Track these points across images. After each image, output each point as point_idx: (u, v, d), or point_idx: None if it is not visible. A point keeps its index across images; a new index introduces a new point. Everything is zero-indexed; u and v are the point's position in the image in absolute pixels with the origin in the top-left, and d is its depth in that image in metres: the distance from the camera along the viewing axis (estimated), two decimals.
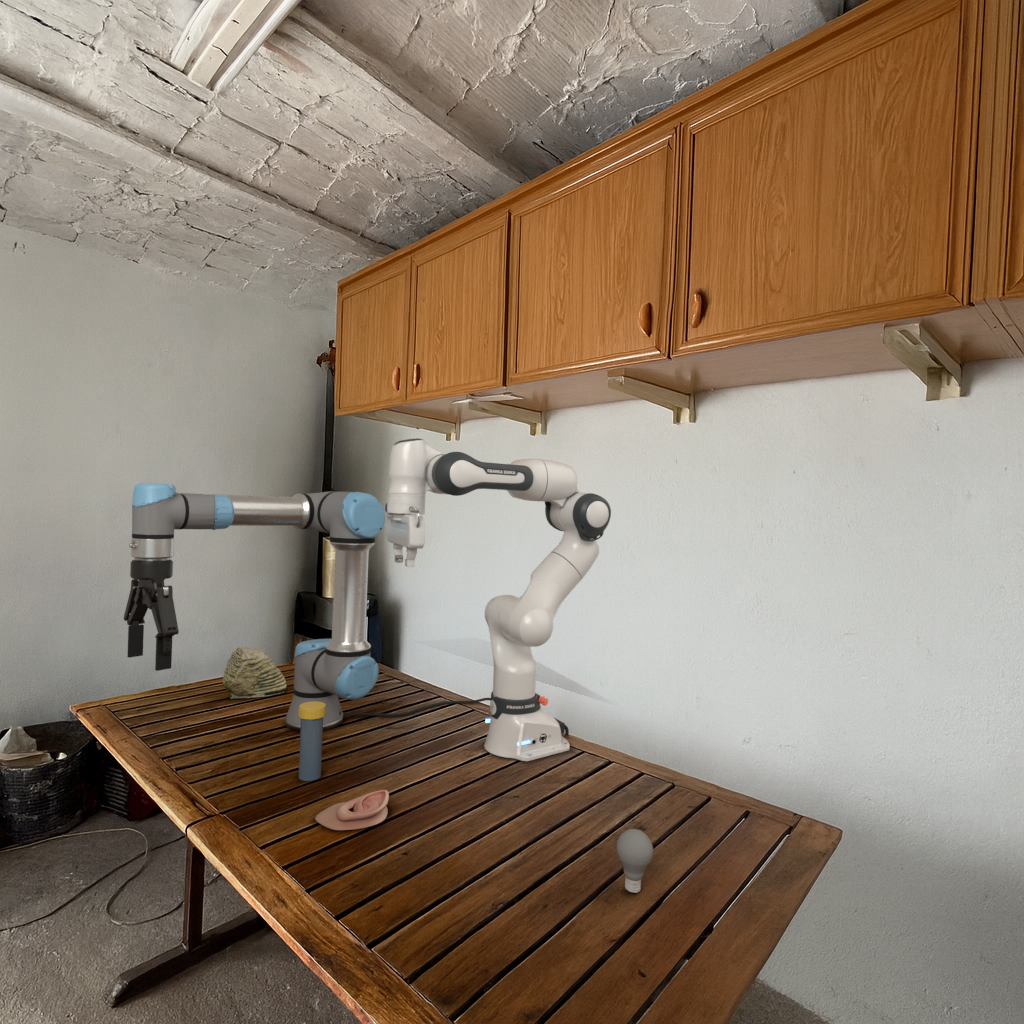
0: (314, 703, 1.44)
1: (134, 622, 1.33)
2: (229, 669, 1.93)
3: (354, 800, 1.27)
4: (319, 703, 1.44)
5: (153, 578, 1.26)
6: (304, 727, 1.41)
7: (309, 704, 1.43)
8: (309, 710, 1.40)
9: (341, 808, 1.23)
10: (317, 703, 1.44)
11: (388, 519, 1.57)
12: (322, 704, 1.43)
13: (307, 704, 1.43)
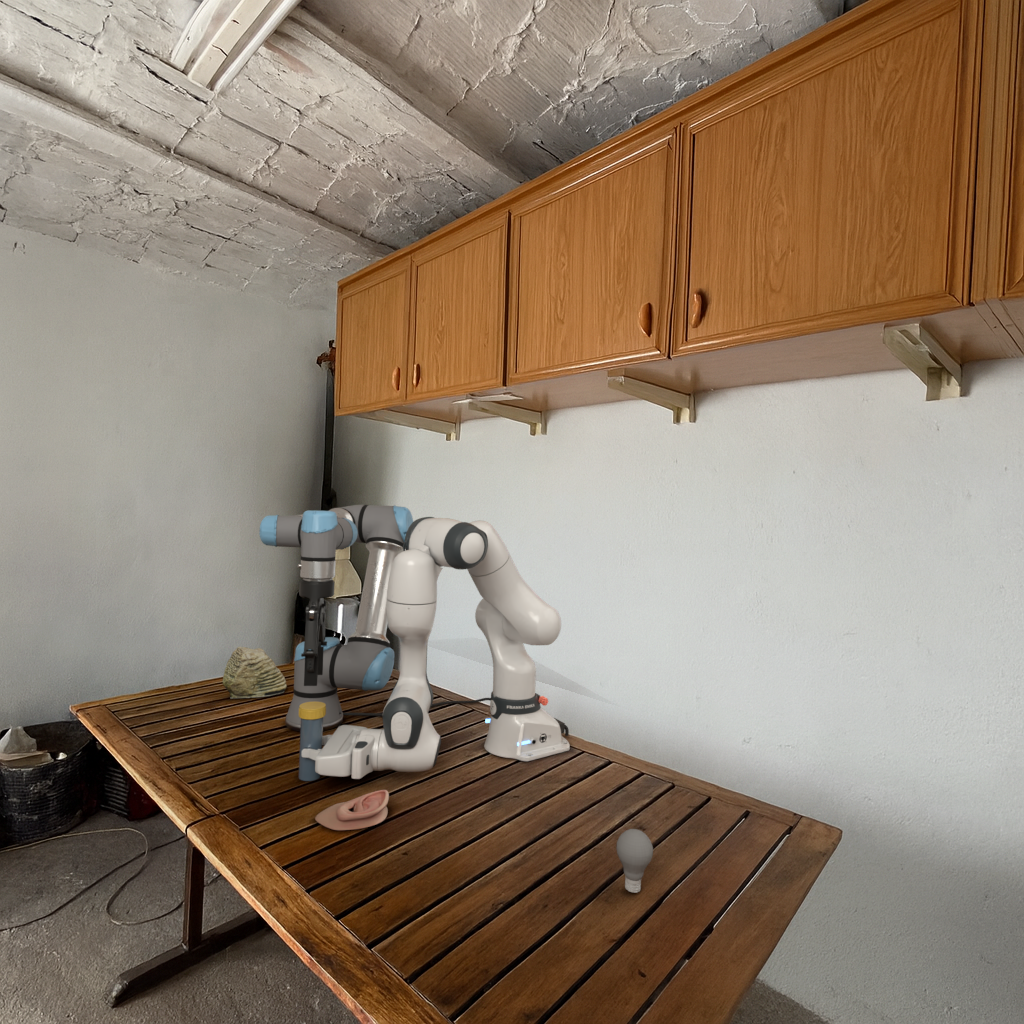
0: (314, 703, 1.44)
1: None
2: (229, 669, 1.93)
3: (354, 800, 1.27)
4: (319, 703, 1.44)
5: (309, 597, 1.39)
6: (304, 727, 1.41)
7: (309, 704, 1.43)
8: (309, 710, 1.40)
9: (341, 808, 1.23)
10: (317, 703, 1.44)
11: None
12: (322, 704, 1.43)
13: (307, 704, 1.43)
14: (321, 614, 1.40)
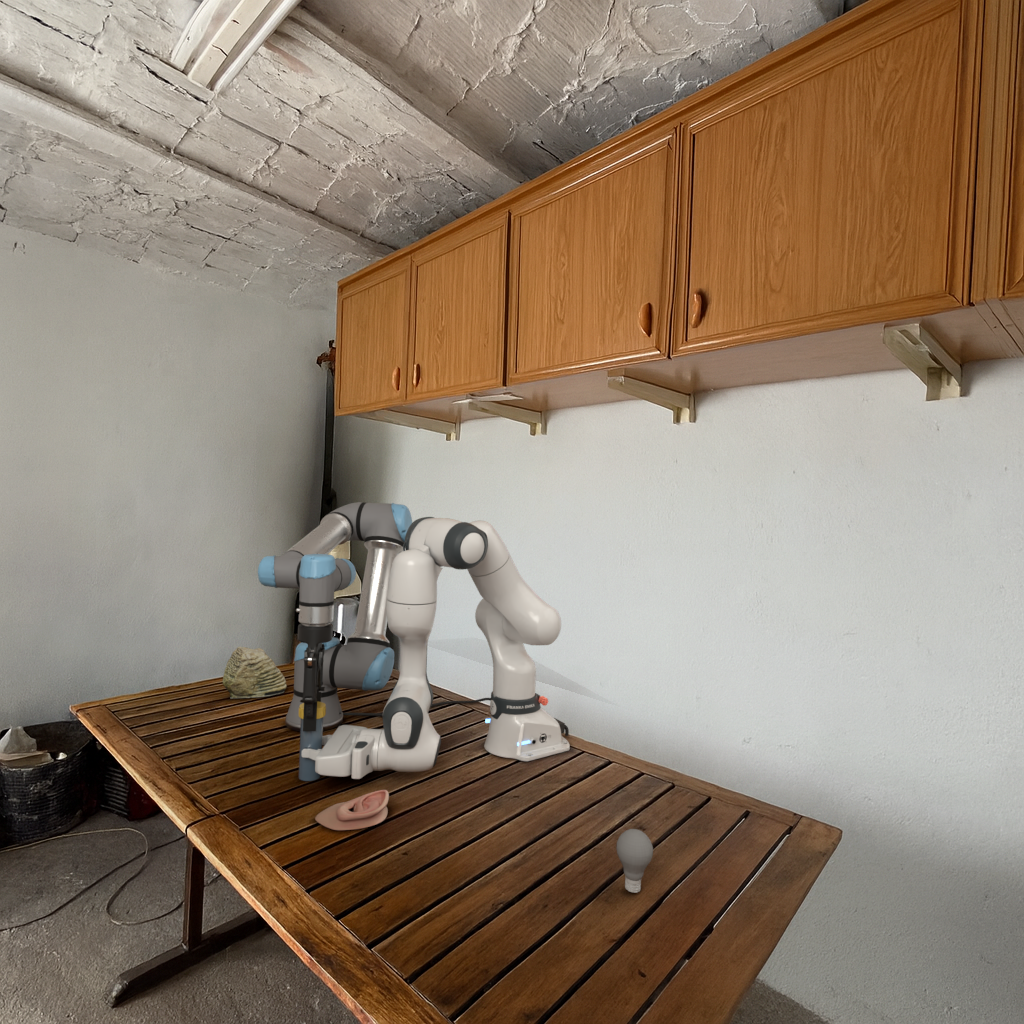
0: None
1: None
2: (229, 669, 1.93)
3: (354, 800, 1.27)
4: (319, 703, 1.44)
5: (307, 642, 1.39)
6: None
7: None
8: None
9: (341, 808, 1.23)
10: (317, 703, 1.44)
11: None
12: (322, 704, 1.43)
13: None
14: (319, 659, 1.41)
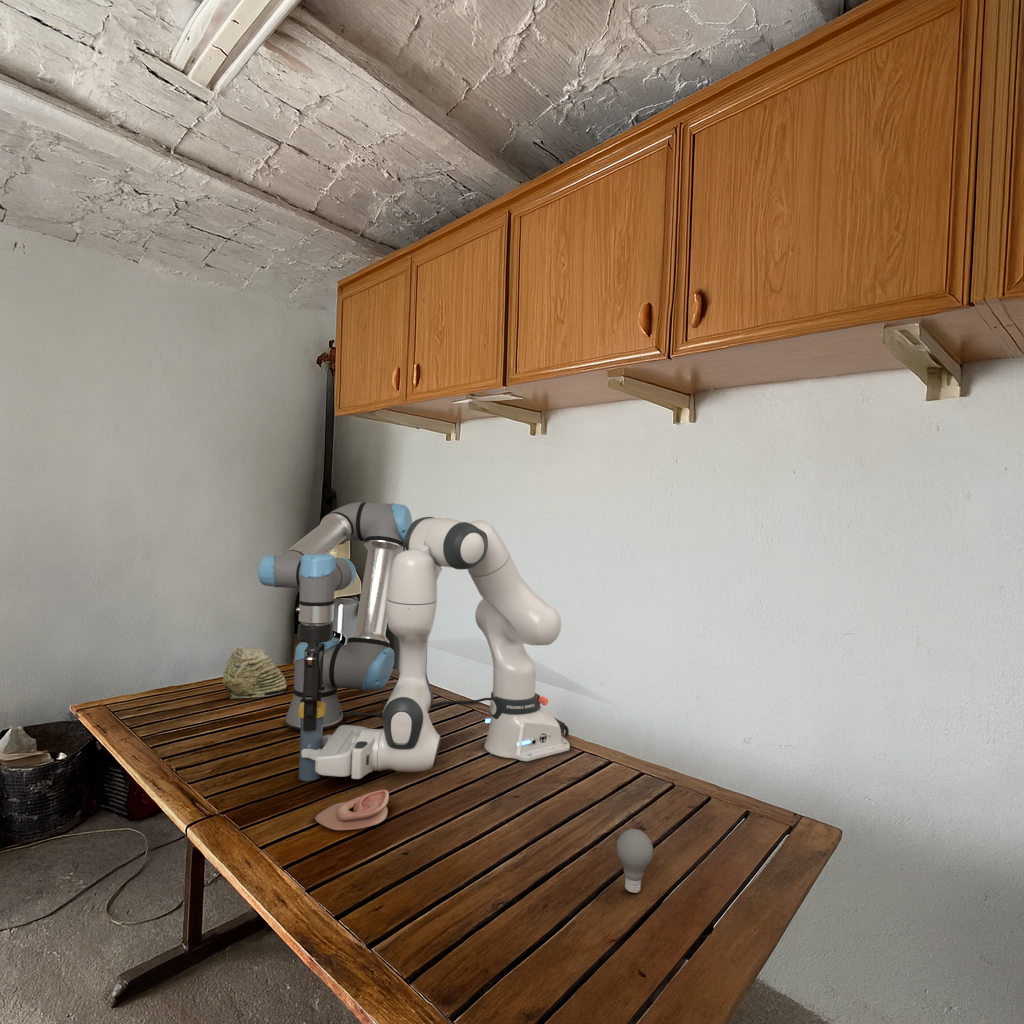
0: None
1: None
2: (229, 669, 1.93)
3: (354, 800, 1.27)
4: None
5: (307, 641, 1.39)
6: None
7: None
8: (325, 705, 1.43)
9: (341, 808, 1.23)
10: None
11: None
12: None
13: None
14: (319, 659, 1.41)
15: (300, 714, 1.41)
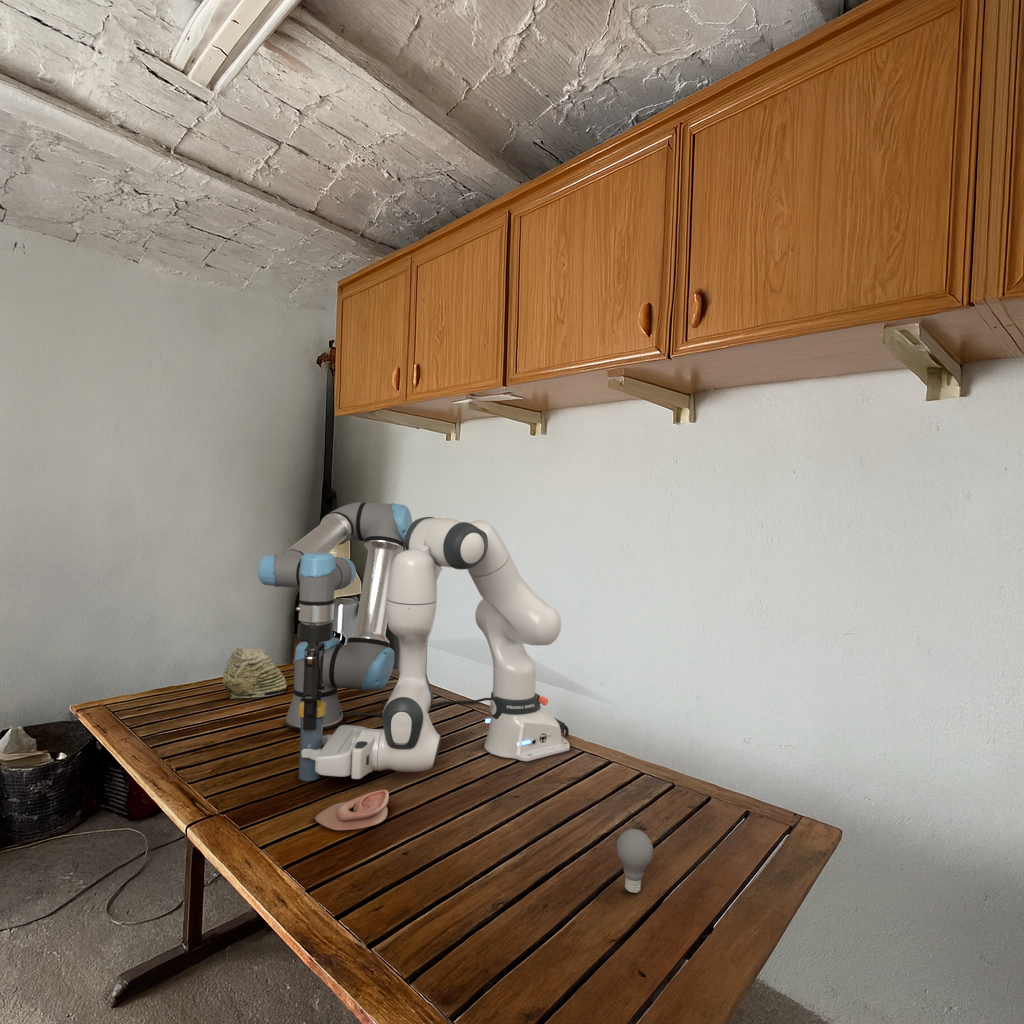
0: None
1: None
2: (229, 669, 1.93)
3: (354, 800, 1.27)
4: None
5: (307, 641, 1.39)
6: None
7: None
8: None
9: (341, 808, 1.23)
10: None
11: None
12: (302, 705, 1.42)
13: (318, 704, 1.43)
14: (319, 658, 1.41)
15: (319, 714, 1.41)
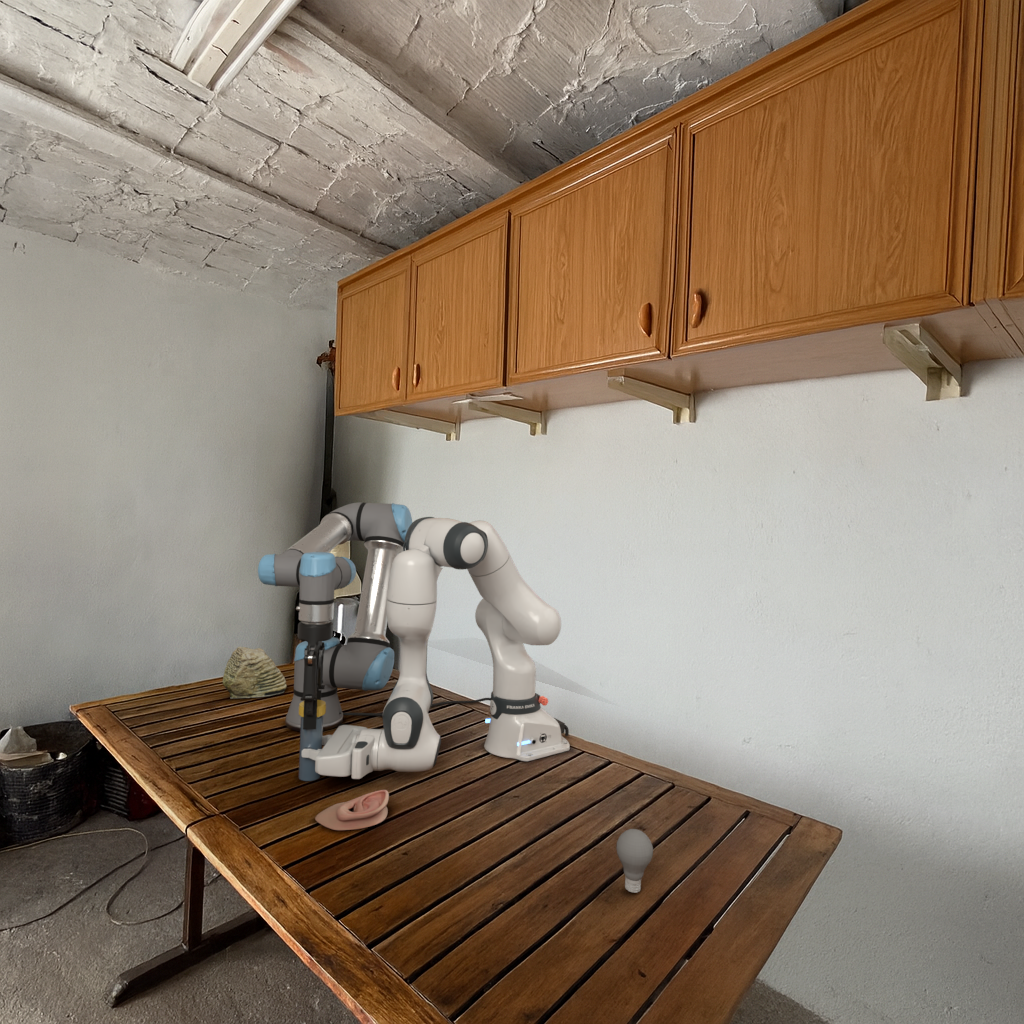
0: (318, 703, 1.43)
1: None
2: (229, 669, 1.93)
3: (354, 800, 1.27)
4: (319, 704, 1.42)
5: (307, 640, 1.39)
6: None
7: None
8: (299, 705, 1.42)
9: (341, 808, 1.23)
10: (319, 704, 1.42)
11: None
12: None
13: None
14: (319, 657, 1.41)
15: None
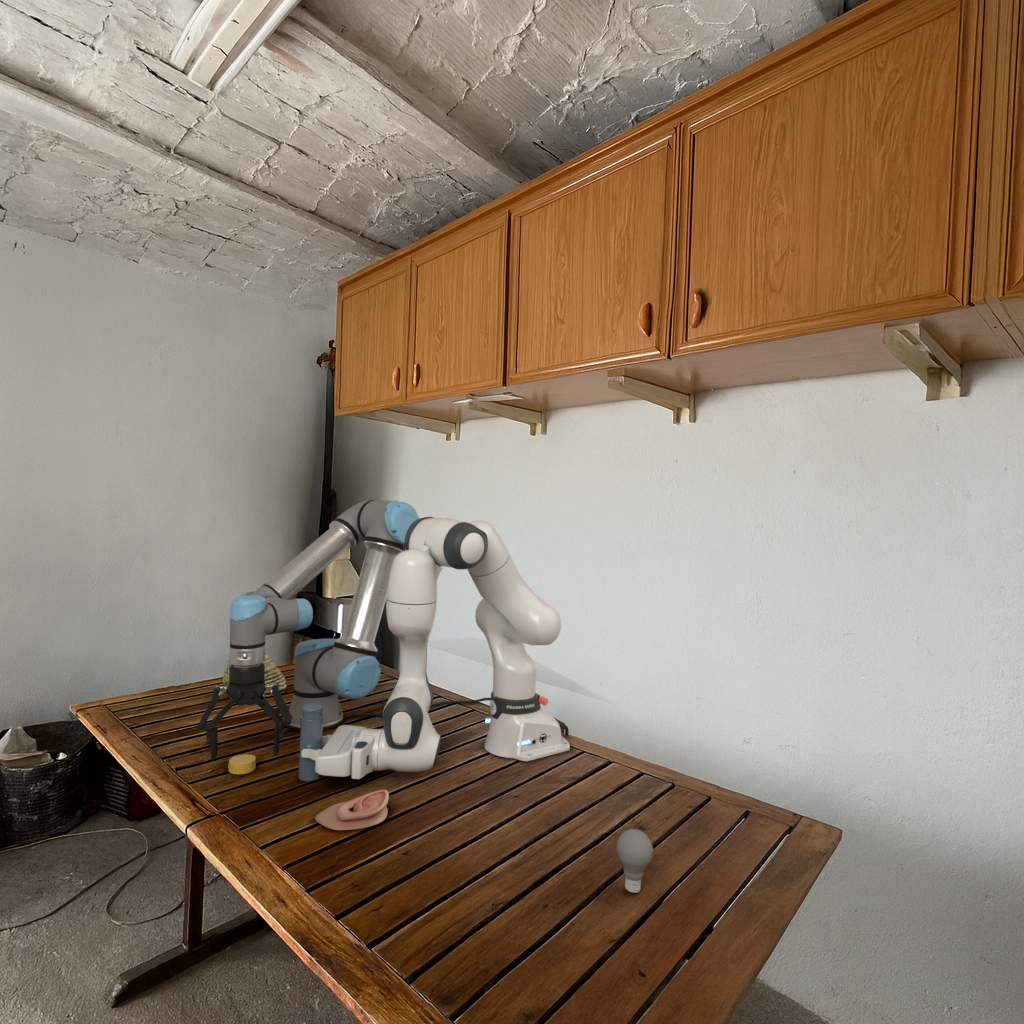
0: (243, 757, 1.47)
1: None
2: None
3: (354, 800, 1.27)
4: (248, 756, 1.47)
5: (262, 680, 1.45)
6: (304, 727, 1.41)
7: (238, 758, 1.45)
8: (242, 765, 1.43)
9: (341, 808, 1.23)
10: (246, 756, 1.47)
11: None
12: (252, 757, 1.46)
13: (236, 759, 1.45)
14: None
15: None
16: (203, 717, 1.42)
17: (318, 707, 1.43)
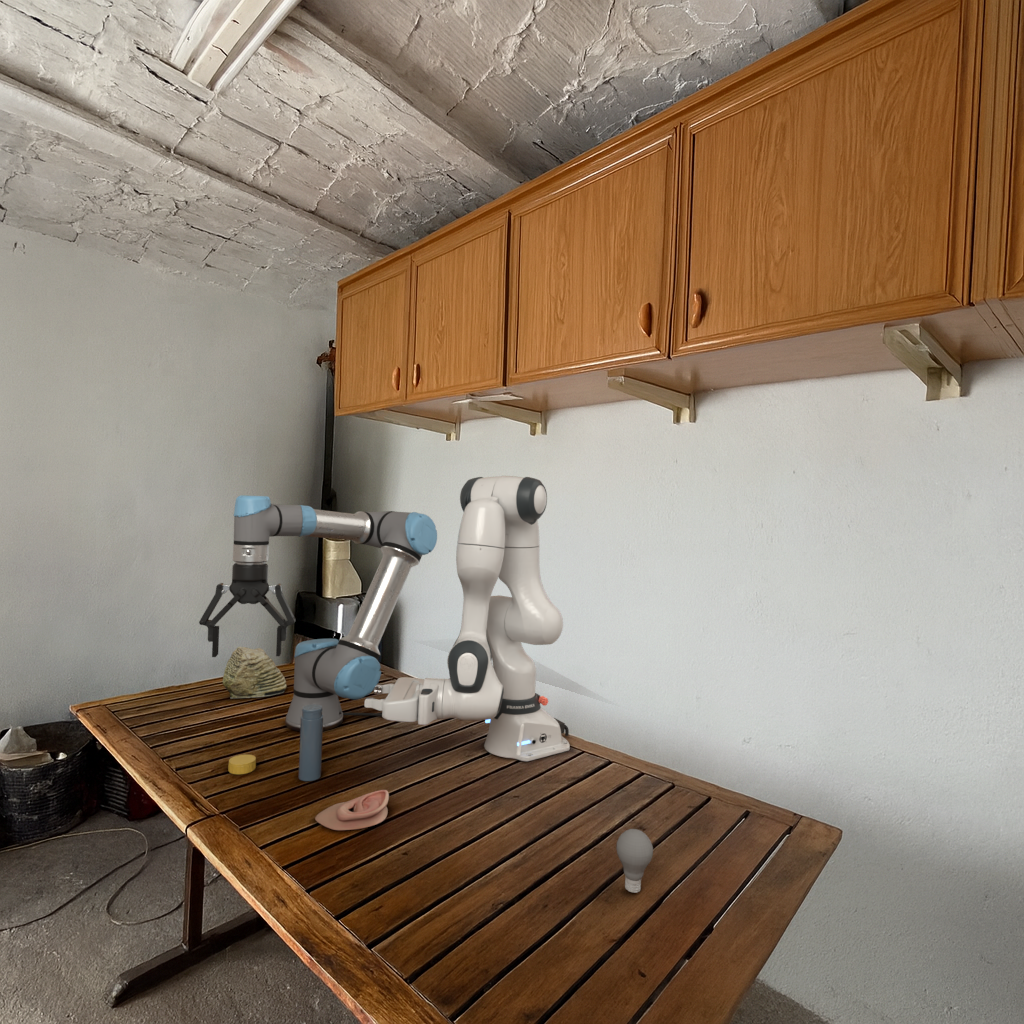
0: (243, 757, 1.47)
1: None
2: (229, 669, 1.93)
3: (354, 800, 1.27)
4: (248, 756, 1.47)
5: (266, 579, 1.44)
6: (304, 727, 1.41)
7: (238, 758, 1.45)
8: (242, 765, 1.43)
9: (341, 808, 1.23)
10: (246, 756, 1.47)
11: None
12: (252, 757, 1.46)
13: (236, 759, 1.45)
14: None
15: None
16: (205, 613, 1.42)
17: (318, 707, 1.43)
